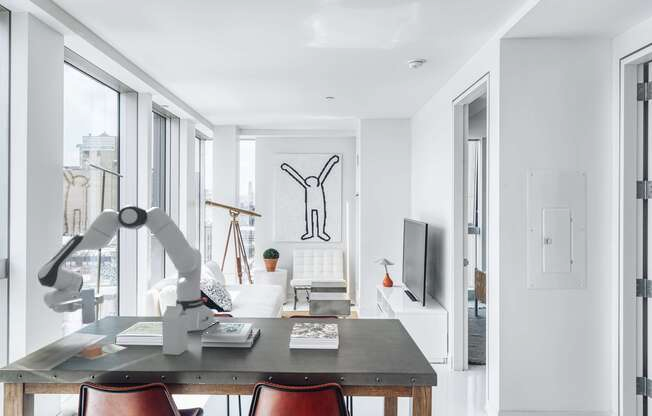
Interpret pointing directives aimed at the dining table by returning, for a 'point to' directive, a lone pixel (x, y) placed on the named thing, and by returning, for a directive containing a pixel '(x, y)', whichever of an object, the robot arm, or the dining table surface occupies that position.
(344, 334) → the dining table surface
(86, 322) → the tall grey block
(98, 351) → the terracotta marker
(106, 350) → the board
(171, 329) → the milk carton
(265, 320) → the dining table surface
